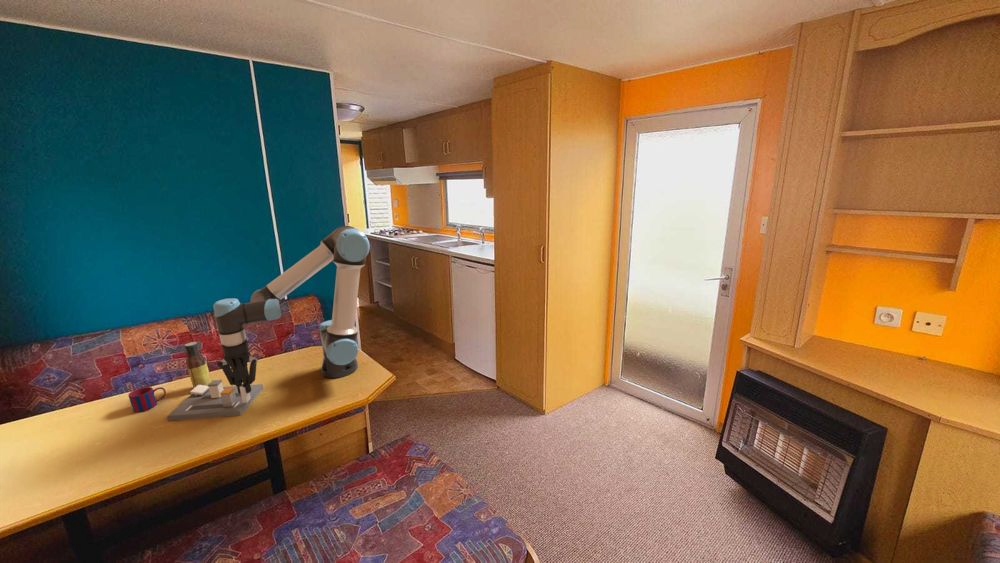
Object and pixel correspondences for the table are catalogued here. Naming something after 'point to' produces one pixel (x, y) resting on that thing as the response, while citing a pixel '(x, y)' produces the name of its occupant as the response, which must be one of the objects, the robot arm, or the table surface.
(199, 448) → the table surface
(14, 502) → the table surface
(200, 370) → the sauce bottle
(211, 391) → the slider cream
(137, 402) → the mug
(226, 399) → the block
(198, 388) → the block
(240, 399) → the panel
